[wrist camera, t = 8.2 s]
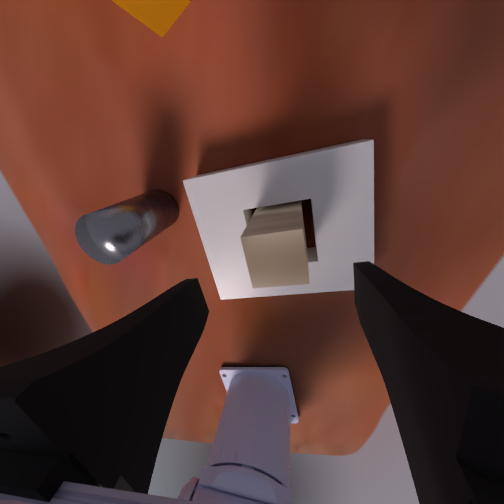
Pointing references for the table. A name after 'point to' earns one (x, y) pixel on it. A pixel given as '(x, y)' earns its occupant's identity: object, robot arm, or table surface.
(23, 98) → the table surface
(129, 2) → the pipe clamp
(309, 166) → the socket block
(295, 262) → the square peg
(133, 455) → the robot arm
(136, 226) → the round peg
